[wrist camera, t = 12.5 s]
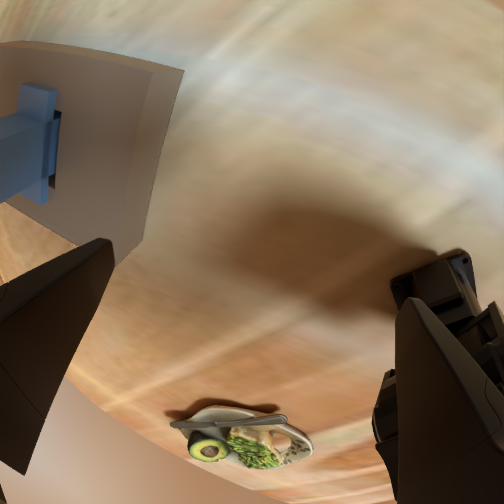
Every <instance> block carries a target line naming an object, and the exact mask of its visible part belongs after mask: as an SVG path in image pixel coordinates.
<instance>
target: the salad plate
mask: <svg viewBox="0 0 504 504" xmlns="http://www.w3.org/2000/svg"><path fill="white" fill-rule="evenodd" d="M287 420H288V419H287V417H286V416H285V415H282V414H273V413H271V414H267V413H263V412H259V411H253V410H248V409H242V408H237V407H230V406H223V405H213V406H209V407H206V408H204V409H202V410H200V411H198V412H197V413H196V414H195V415H194V416H192V417H191V418H188V419H184V420H179V421H174V422H170V426H171V427H173V428H178V429H180V430H181V432H182V434H183V435H184V436H185V438H186V439H188V446H187V447H188V451H189V454H190V455H191V456H192V457H194V458H195V459H198V460H200V461H203V462H213V461H215V462H217V461H218V459H224V458H225V459H228V460H230V461H231V462H234V463H236V464H238V465H241V466H244V467H247V468H249V469H250V468H252V469H259V470H272V469H276V468H280V467H282V466H285V465H287V464H290V463H293V462H295V461H299V460H301V459H304V458H306V457H308V456H310V455H311V454H312V451H313V445H312V441H311V440H310V439H309V438H308V437H306V436H305V435H304V434H303V433H302V432H301V431H300V430H298V429H297V428H295V427H293V426H291V425H289V424H287V423H286V422H287ZM273 433H279V434H283V435H286V436H288V437H290V439H291V446H290V447H289V448H288V449H287V450H285V451H283V452H278V450H277V449H275V448H274V442H273V438H272V436H273Z"/></svg>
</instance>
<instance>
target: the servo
mask: <svg viewBox="0 0 504 504" xmlns="http://www.w3.org/2000/svg"><path fill="white" fill-rule="evenodd" d="M56 95H57V90H55V89H51V88H48V87H44V86H40V85H36V84H32V83H28V82H27V83H23V84H19V92H18V100H17V110H16V113H14V114H11V115H8V116H5V117H2V118H0V203H2V202H4V201H5V200H7V199H9V198H10V197H12V196H14V195H16V194H17V193H20V194H22V195H23V196H25V197H27V198H28V199H30V200H32V201H34V202H35V203H37V204H39V205H43V204H45V203H46V202H48V176H50V175H52V174H54V173H56V162H57V150H58V139H59V130H60V122H61V114H62V112H60V111H57V110H54V108H55V101H56Z"/></svg>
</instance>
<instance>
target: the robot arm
mask: <svg viewBox="0 0 504 504" xmlns="http://www.w3.org/2000/svg"><path fill="white" fill-rule="evenodd" d="M464 258H467V259H466V260H465V261H462V260H463V259H464ZM114 267H115V257H114V250H113V244H112V241H111V240H110V239H105V238H97V239H95V240H92V241H90V242H88V243H86V244H84V245H81V246H79V247H77V248H75V249H73V250H71V251H69V252H67V253H65V254H62V255H60V256H58V257H56V258H54V259H52V260H50V261H48V262H46V263H44V264H42V265H40V266H38V267H36V268H34V269H32V270H30V271H28V272H26V273H24V274H22V275H20V276H19V277H17V278H15V279H13V280H11V281H9V283H8V282H7V283H5V284H3V285H1V286H0V461H2V462H4V463H5V464H7V465H8V466H9V467H11V468H12V469H14V470H16V471H17V472H19V473H21V474H22V475H25V474H26V471H27V468H28V465H29V463H30V460H31V457H32V454H33V451H34V448H35V446H36V443H37V440H38V438H39V435H40V432H41V430H42V427H43V425H44V422H45V419H46V417H47V414H48V412H49V409H50V407H51V404H52V402H53V400H54V397H55V395H56V393H57V391H58V388H59V386H60V384H61V382H62V379H63V377H64V375H65V373H66V371H67V369H68V366H69V364H70V362H71V360H72V358H73V356H74V354H75V352H76V350H77V348H78V346H79V343H80V341H81V339H82V337H83V335H84V333H85V331H86V330H87V328H88V326H89V324H90V322H91V320H92V318H93V316H94V314H95V312H96V310H97V308H98V306H99V303H100V301H101V299H102V296H103V294H104V291H105V289H106V286H107V284H108V282H109V279H110V277H111V275H112V272H113V270H114ZM396 283H399V285H398V286H395V284H396ZM390 287H391V290H392V293H393V296H394V299H395V302H396V304H397V307H398V310H399V313H398V315H397V317H396V320H395V369H394V370H393V369H391V370H389V371H387V372H386V373H385V375H384V378H383V382H382V385H381V389H380V392H379V395H378V398H377V402H376V405H375V407H374V410H373V415H372V427H373V432H374V436H375V439H376V441H377V443H376V445H375V447H376V450H377V451H378V453H379V454H380V456H381V457H382V459H383V460H384V463H385V465H386V467H387V470H388V472H389V476H390V479H391V484H392V488H393V493H394V498H395V500H396V501H397V504H504V315H503V314H502V312H501V310H500V309H499V307H498V306H497V304H496V302H495V301H493V302H492V303H491V304H489V305H488V308H487V309H485V310H484V311H483V312H482V310H481V307H480V305H479V303H478V301H477V294H476V286H475V279H474V272H473V266H472V260H471V257H470V255H469V254H468V253H467V252H462V253H460V254H457V255H455V256H452V257H449V258H447V259H443V260H440V261H438V262H435V263H432V264H430V265H427V266H424V267H421V268H419V269H416V270H414V271H412V272H409V273H406V274H404V275H401V276H398V277H395V278H393V279H392V280H391V281H390ZM0 504H6V499H5V496H4V494H3V491H2V488H1V485H0Z"/></svg>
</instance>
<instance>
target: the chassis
mask: <svg viewBox="0 0 504 504" xmlns="http://www.w3.org/2000/svg"><path fill="white" fill-rule="evenodd" d="M183 73H184V71H183V70H180V69H176V68H173V67H169V66H165V65H162V64H158V63H154V62H150V61H146V60H141V59H137V58H133V57H128V56H124V55H119V54H114V53H109V52H104V51H98V50H93V49H87V48H81V47H74V46H67V45H60V44H52V43H43V42H32V41H14V42H6V43H0V118H2V117H5V116H8V115H11V114H14V113H16V110H17V100H18V92H19V84H23V83H27V82H28V83H32V84H36V85H40V86H44V87H48V88H51V89H55V90H57V95H56V101H55V108H54V110H57V111H60V112H62V114H61V122H60V130H59V139H58V150H57V162H56V173H54V174H52V175H50V176H48V202H46V203H45V204H43V205H39V204H37V203H35V202H34V201H32V200H30V199H28V198H27V197H25V196H23V195H22V194H20V193H17V194H16V195H14V196H12V197H10V198H9V199H7V200H5V201H4V202H6V203H8V204H9V205H11V206H12V207H14V208H15V209H17V210H19V211H20V212H22V213H23V214H25V215H27V216H28V217H30V218H32V219H33V220H35V221H36V222H38V223H40V224H41V225H43V226H45V227H46V228H48V229H50V230H51V231H53V232H55V233H57V234H58V235H60V236H62V237H63V238H65V239H67V240H69V241H70V242H72V243H74V244H76V245H77V246H81V245H84V244H86V243H88V242H90V241H92V240H95V239H97V238H105V239H110V240H111V241H112V244H113V250H114V257H115V267H116V266H117V265H118V264H119V263H120V262H121V261H122V260H123V259H124V258H125V257H126V256H127V255H128V254H129V253H130V252H131V251H132V250H133V249H134V248H135V247H136V246H137V245H138V244H139V243H140V242H141V241H142V237H143V232H144V227H145V221H146V216H147V211H148V206H149V202H150V197H151V192H152V188H153V183H154V179H155V174H156V170H157V166H158V162H159V158H160V154H161V150H162V146H163V142H164V138H165V134H166V131H167V127H168V123H169V120H170V116H171V113H172V109H173V106H174V102H175V99H176V96H177V92H178V89H179V86H180V83H181V79H182V76H183Z"/></svg>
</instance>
